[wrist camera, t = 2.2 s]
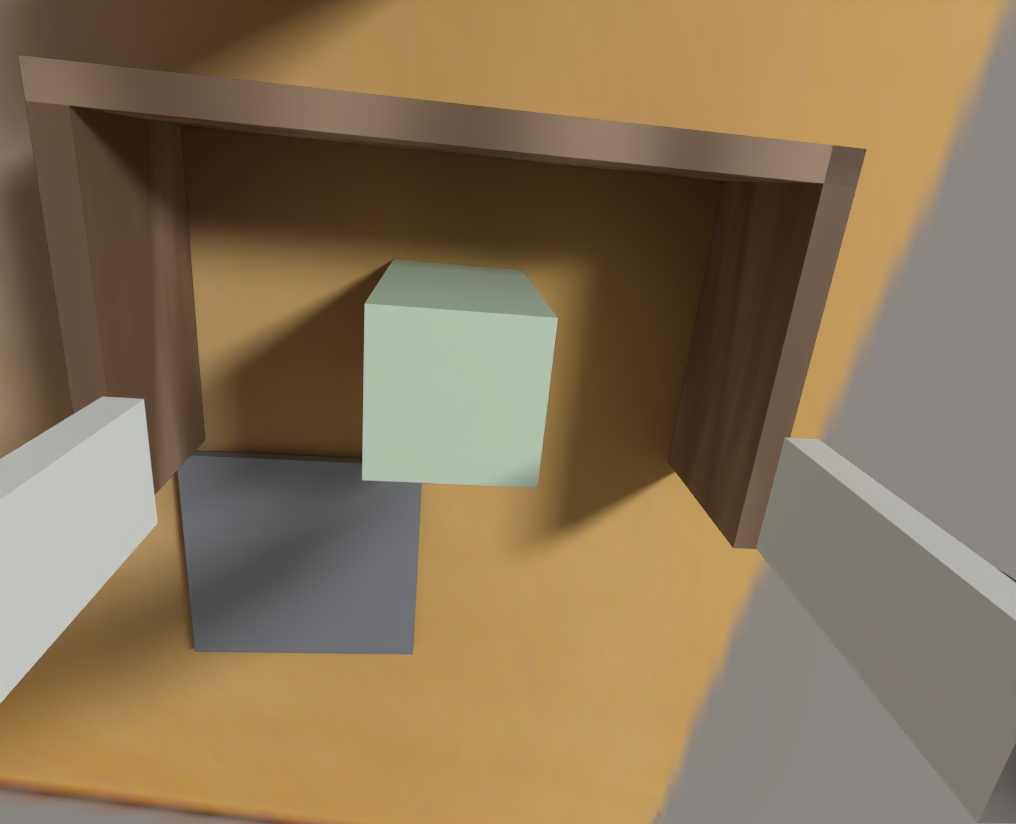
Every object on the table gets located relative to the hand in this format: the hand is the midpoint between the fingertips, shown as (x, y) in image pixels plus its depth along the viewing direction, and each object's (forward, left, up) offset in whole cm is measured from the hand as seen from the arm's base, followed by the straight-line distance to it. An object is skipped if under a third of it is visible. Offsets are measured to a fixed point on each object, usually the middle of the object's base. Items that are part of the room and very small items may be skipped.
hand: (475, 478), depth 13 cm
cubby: (0, +1, -13) cm, 13 cm away
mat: (-6, -11, -13) cm, 18 cm away
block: (0, 0, -13) cm, 13 cm away
